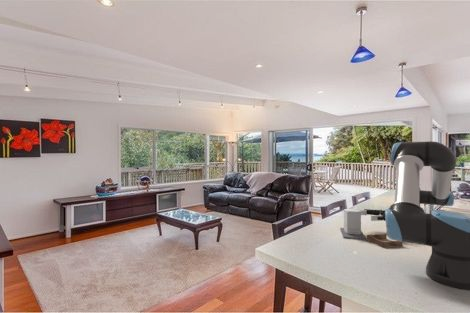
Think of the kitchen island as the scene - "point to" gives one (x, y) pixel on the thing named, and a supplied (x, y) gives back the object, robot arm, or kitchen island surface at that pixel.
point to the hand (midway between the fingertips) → (363, 215)
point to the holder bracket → (376, 240)
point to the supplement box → (352, 221)
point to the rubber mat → (352, 235)
